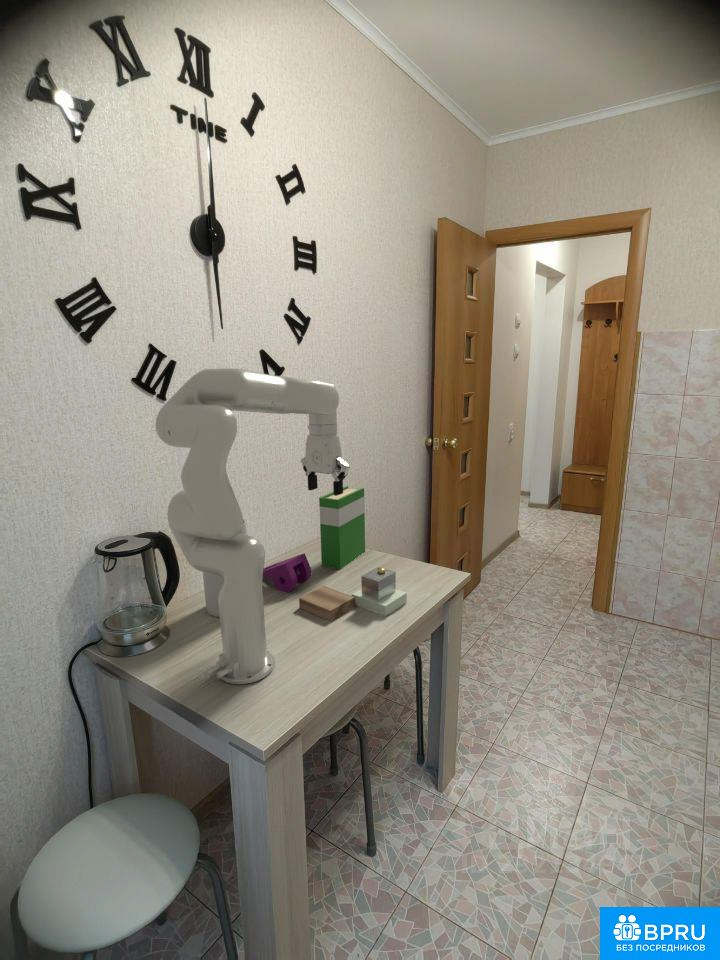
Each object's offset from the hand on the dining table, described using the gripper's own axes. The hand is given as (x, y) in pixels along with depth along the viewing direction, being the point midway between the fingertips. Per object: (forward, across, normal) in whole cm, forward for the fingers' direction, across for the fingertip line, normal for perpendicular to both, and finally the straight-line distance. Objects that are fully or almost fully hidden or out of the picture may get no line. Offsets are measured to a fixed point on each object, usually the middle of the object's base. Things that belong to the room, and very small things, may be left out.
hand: (325, 491), depth 136 cm
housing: (+29, +13, +7) cm, 33 cm away
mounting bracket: (+33, -20, -1) cm, 39 cm away
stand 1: (+32, +3, -4) cm, 33 cm away
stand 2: (+32, +13, +7) cm, 36 cm away
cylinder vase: (+32, -19, -21) cm, 43 cm away
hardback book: (+33, -17, +26) cm, 45 cm away
